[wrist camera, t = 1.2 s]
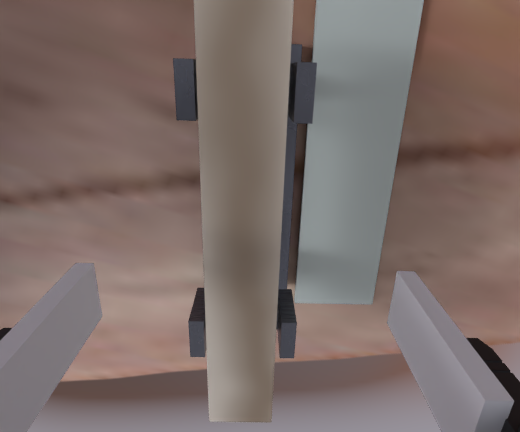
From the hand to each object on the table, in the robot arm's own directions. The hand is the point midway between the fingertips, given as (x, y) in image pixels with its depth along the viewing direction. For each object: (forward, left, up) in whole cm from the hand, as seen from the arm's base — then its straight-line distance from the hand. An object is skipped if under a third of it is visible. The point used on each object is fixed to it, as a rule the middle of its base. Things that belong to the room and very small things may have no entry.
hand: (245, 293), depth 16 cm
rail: (0, 0, -9) cm, 9 cm away
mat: (+9, +1, -18) cm, 20 cm away
